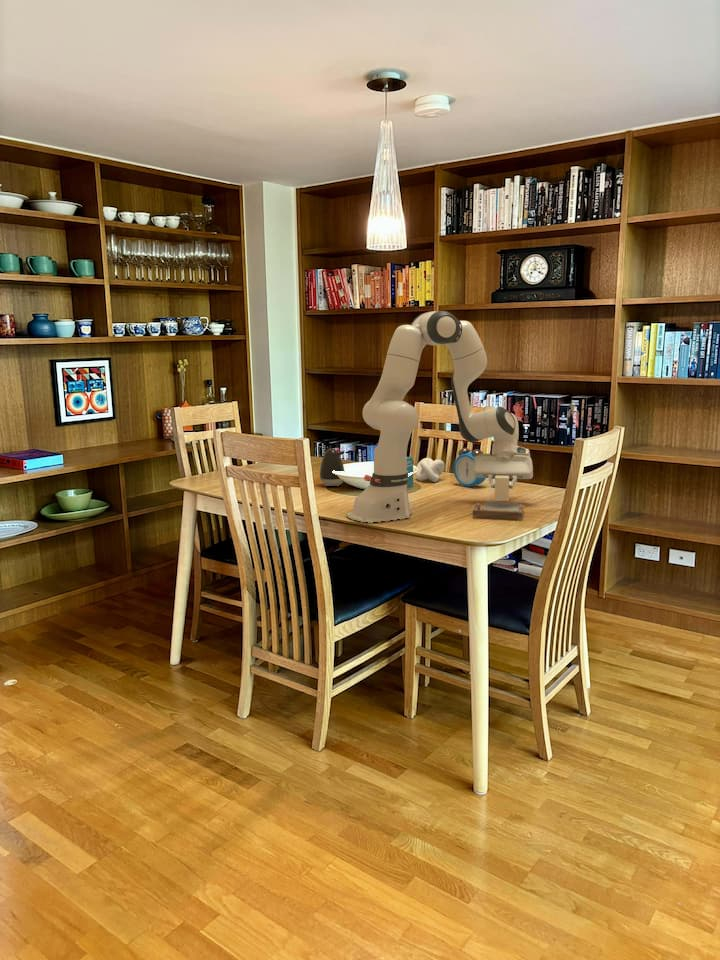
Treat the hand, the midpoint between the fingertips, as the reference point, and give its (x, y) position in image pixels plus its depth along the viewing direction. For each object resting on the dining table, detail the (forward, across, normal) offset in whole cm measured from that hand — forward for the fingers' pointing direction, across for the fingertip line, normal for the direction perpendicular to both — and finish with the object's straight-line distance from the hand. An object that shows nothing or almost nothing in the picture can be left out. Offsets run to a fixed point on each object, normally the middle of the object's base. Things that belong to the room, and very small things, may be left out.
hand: (501, 487), depth 252 cm
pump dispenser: (-15, -70, +27) cm, 76 cm away
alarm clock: (-22, -15, +34) cm, 43 cm away
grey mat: (+5, 0, +6) cm, 8 cm away
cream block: (+3, 0, +4) cm, 4 cm away
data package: (-15, -41, +27) cm, 52 cm away
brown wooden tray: (+14, 0, -2) cm, 14 cm away
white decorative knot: (-26, -33, +38) cm, 57 cm away
